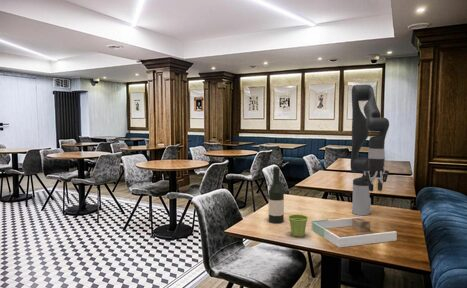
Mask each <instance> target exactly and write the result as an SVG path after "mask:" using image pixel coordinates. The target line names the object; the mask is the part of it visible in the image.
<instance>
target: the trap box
mask: <svg viewBox="0 0 467 288" xmlns="http://www.w3.org/2000/svg"><path fill="white" fill-rule="evenodd" d="M356 218H364V216H354V217H347V218H345V217H344V218H336V219H335V218H334V219H328V218H323V219H311V222H310V223H311V226H310V227H311V230H312V231H313V232H314V233H316V234H318V235H319V236H321V237H322V238H324V239H326V240H327V241H328V242H330V243H331V244H333V245H334V246H336V247H337V248H346V247H354V246H362V245H364V246H365V245H369V244H371V243H372V244H380V243H387V242H395V241H397V239H398V238H397V237H398V236H397V233H398V232H397V231H396V230H393V231H386V232H377V233H373V232H365V233H364V232H363V233H355V235H352V236H351V235H349V234H347V235H339V236H338V235H336V234H335V233H333V232H332V231H331V230H329V229H333V228H335V229H336V228H345V227H352V219H356Z"/></svg>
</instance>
